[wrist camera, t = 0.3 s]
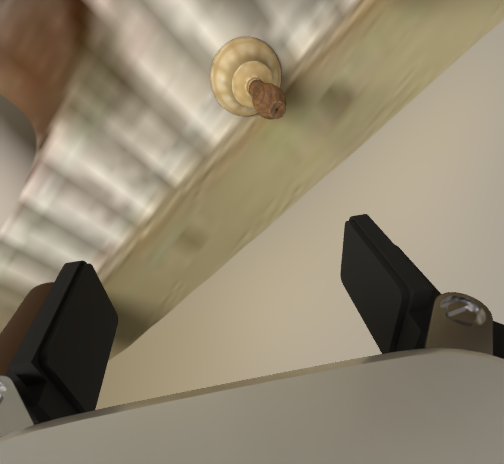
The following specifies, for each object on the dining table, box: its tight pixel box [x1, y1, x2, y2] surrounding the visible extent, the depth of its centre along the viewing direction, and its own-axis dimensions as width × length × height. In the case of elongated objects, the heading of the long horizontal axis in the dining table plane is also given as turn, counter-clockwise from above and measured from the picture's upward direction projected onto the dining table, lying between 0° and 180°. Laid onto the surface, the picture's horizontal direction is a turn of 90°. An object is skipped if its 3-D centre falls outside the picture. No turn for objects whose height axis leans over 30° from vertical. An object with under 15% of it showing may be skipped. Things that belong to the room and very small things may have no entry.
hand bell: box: [210, 37, 286, 119], centre depth 30 cm, size 8×8×16 cm
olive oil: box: [0, 283, 54, 376], centre depth 40 cm, size 11×11×25 cm
